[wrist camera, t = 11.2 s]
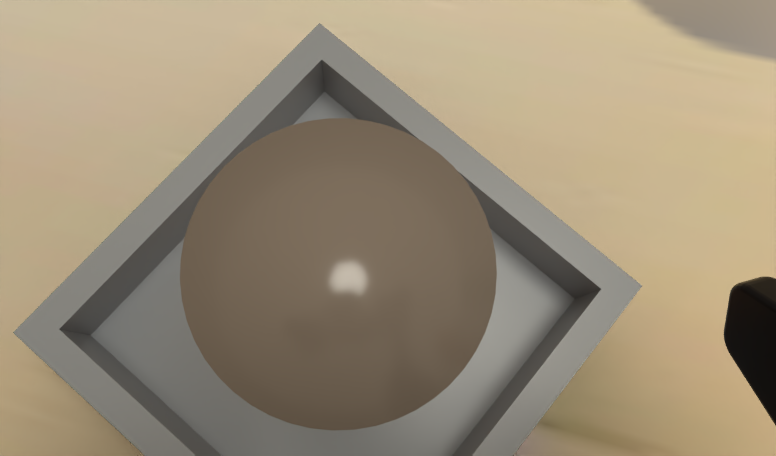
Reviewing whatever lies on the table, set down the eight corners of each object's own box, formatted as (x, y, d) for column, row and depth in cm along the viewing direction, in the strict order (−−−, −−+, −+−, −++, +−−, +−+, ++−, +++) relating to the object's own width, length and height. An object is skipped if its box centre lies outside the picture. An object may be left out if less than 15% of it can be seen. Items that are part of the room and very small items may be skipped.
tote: (358, 615, 19) (360, 656, 16) (61, 340, 20) (13, 332, 17) (602, 299, 21) (642, 285, 19) (323, 69, 23) (319, 23, 20)
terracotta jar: (351, 450, 19) (360, 502, 11) (213, 330, 20) (111, 285, 11) (464, 307, 20) (558, 248, 12) (331, 197, 21) (323, 61, 12)
